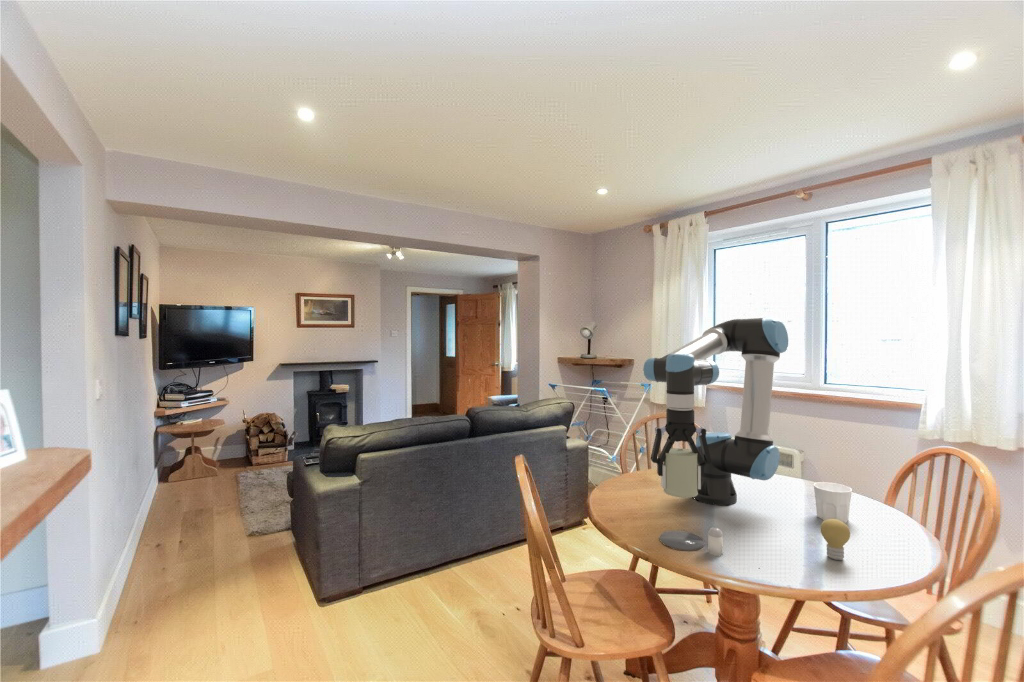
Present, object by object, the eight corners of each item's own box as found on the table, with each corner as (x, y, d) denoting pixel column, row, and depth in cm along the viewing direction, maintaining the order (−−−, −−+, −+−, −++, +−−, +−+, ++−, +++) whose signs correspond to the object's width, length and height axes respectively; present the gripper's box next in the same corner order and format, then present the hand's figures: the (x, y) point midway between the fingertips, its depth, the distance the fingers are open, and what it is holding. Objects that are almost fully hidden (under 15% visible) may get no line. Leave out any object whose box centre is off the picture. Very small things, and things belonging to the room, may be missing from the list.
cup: (854, 517, 151) (854, 486, 151) (849, 527, 143) (849, 494, 143) (817, 509, 158) (817, 480, 157) (810, 518, 150) (810, 487, 150)
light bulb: (814, 553, 127) (814, 515, 127) (837, 551, 127) (837, 514, 127) (833, 564, 120) (832, 525, 120) (856, 563, 121) (856, 524, 121)
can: (697, 489, 138) (697, 447, 138) (698, 499, 129) (698, 455, 129) (664, 486, 141) (663, 445, 141) (663, 495, 132) (662, 452, 132)
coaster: (696, 532, 140) (696, 530, 140) (710, 551, 128) (710, 549, 128) (655, 531, 141) (655, 529, 141) (665, 550, 129) (665, 547, 129)
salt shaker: (719, 550, 129) (719, 525, 129) (724, 556, 125) (724, 530, 125) (706, 549, 129) (706, 525, 129) (710, 556, 126) (710, 530, 126)
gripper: (715, 406, 137) (715, 484, 138) (639, 406, 139) (639, 482, 140) (724, 410, 130) (724, 492, 130) (643, 410, 132) (644, 490, 132)
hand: (680, 487), depth 135 cm, fingers closed on can, 9 cm apart
